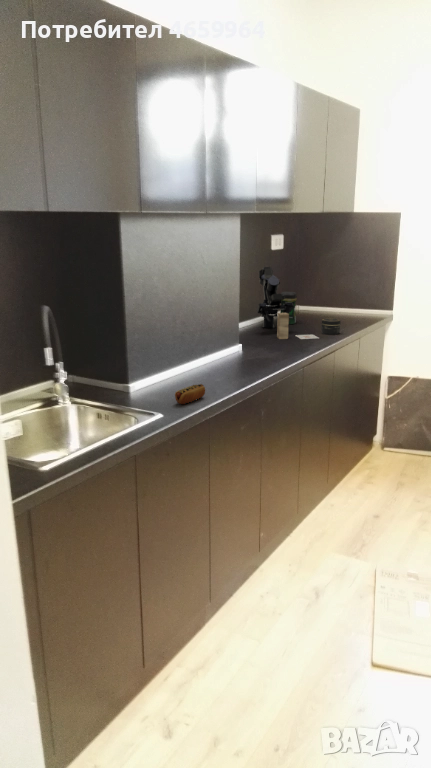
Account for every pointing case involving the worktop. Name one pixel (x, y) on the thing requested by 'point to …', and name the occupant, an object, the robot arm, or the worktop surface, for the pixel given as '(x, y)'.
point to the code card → (306, 336)
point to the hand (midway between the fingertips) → (278, 320)
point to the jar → (330, 326)
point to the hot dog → (190, 393)
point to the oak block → (282, 325)
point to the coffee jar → (292, 298)
